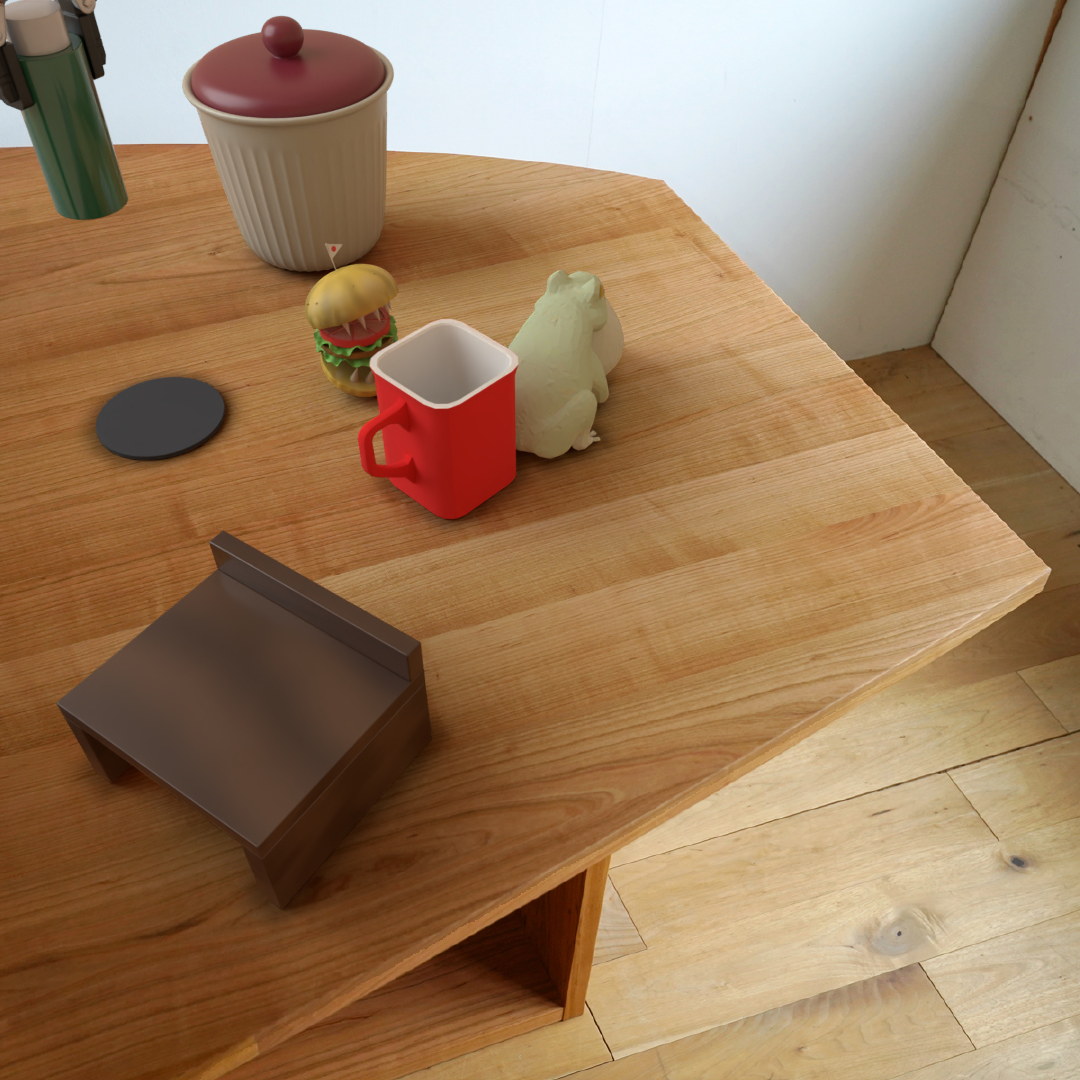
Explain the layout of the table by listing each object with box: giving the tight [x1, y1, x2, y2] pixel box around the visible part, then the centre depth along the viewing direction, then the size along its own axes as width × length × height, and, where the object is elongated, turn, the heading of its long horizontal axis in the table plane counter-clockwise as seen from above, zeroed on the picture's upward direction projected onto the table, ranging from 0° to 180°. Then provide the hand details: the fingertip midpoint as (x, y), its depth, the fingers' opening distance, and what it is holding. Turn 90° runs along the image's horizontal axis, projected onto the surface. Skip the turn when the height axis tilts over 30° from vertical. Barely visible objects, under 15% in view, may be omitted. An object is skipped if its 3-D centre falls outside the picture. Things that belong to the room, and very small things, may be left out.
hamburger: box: [304, 243, 400, 398], centre depth 83 cm, size 8×7×12 cm
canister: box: [181, 15, 395, 273], centre depth 94 cm, size 18×18×21 cm
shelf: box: [56, 530, 433, 910], centre depth 58 cm, size 13×15×9 cm
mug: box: [357, 318, 519, 520], centre depth 74 cm, size 12×8×11 cm
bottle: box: [5, 0, 129, 221], centre depth 64 cm, size 5×5×12 cm
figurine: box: [507, 269, 625, 460], centre depth 82 cm, size 10×16×10 cm, turn 157°
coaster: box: [95, 376, 226, 461], centre depth 83 cm, size 10×10×1 cm
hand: (54, 89), depth 63 cm, fingers closed on bottle, 4 cm apart
